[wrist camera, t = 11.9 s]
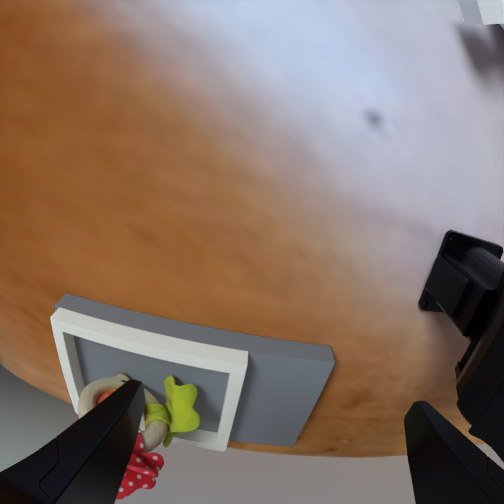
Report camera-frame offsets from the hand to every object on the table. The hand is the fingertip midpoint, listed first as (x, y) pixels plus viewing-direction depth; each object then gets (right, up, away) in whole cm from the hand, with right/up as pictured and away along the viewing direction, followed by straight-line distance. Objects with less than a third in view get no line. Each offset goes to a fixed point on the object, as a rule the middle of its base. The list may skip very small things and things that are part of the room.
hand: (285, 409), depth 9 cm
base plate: (-7, -6, +17) cm, 19 cm away
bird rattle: (-10, -6, +15) cm, 19 cm away
